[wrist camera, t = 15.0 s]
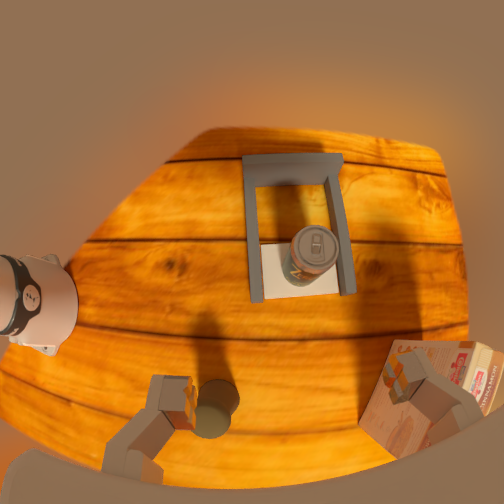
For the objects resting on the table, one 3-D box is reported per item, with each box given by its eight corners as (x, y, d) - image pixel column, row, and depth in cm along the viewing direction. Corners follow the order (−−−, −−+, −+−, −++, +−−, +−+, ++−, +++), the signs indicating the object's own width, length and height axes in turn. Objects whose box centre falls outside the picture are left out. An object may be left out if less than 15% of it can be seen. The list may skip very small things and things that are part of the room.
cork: (203, 374, 37) (184, 391, 26) (244, 385, 36) (239, 406, 26) (194, 410, 35) (174, 436, 25) (234, 420, 35) (226, 451, 24)
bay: (251, 303, 39) (250, 298, 32) (244, 179, 44) (242, 155, 38) (350, 294, 39) (367, 288, 32) (331, 176, 44) (341, 153, 38)
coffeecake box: (390, 432, 33) (457, 478, 14) (355, 424, 34) (416, 479, 15) (425, 349, 36) (509, 353, 18) (393, 338, 37) (477, 339, 18)
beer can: (283, 249, 41) (294, 219, 29) (319, 254, 41) (342, 226, 29) (279, 285, 40) (288, 268, 28) (315, 289, 39) (339, 275, 28)
